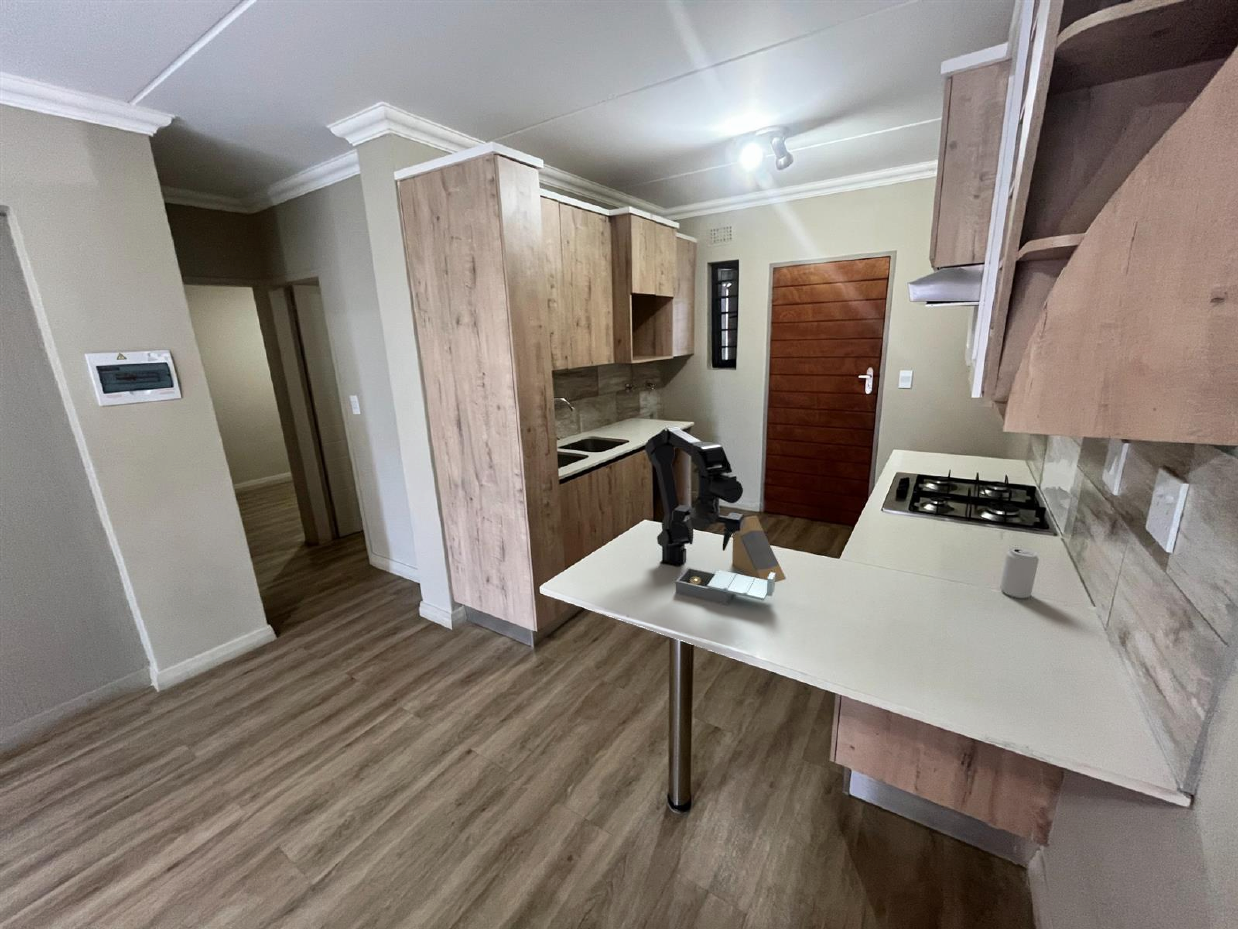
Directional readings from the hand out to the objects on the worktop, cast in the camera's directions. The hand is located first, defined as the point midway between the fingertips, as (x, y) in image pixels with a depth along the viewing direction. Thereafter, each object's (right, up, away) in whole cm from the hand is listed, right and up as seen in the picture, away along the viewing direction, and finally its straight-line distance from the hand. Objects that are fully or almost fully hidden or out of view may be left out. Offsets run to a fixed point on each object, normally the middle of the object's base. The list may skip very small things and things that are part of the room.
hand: (707, 547), depth 130 cm
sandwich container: (+17, -10, +10) cm, 22 cm away
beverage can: (+80, -12, -4) cm, 81 cm away
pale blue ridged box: (+8, -9, -6) cm, 13 cm away
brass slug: (-3, -12, +1) cm, 12 cm away
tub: (0, -12, 0) cm, 12 cm away
